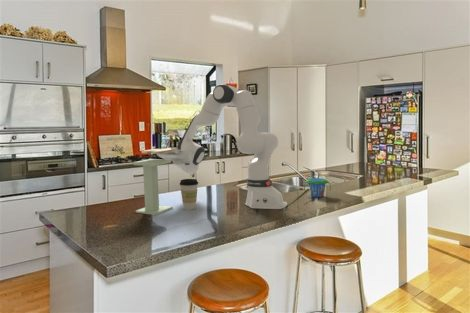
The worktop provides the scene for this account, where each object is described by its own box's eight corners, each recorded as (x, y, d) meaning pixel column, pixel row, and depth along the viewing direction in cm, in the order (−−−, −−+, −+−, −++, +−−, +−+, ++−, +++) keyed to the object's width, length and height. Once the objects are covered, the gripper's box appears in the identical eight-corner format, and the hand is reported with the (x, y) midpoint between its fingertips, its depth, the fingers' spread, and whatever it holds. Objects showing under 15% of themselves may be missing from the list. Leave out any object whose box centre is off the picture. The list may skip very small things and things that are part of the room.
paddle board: (183, 149, 207) (183, 147, 206) (160, 153, 188) (160, 151, 187) (165, 149, 212) (165, 147, 211) (141, 153, 193) (141, 150, 192)
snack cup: (302, 197, 219) (302, 180, 218) (305, 193, 229) (305, 177, 228) (329, 199, 214) (330, 181, 212) (331, 195, 223) (331, 178, 222)
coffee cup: (195, 210, 193) (195, 182, 191) (177, 210, 195) (176, 181, 193) (201, 206, 202) (200, 178, 201) (183, 205, 204) (183, 178, 202)
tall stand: (172, 208, 198) (171, 159, 195) (156, 215, 186) (154, 163, 183) (152, 206, 204) (150, 158, 201) (135, 212, 191) (133, 162, 188)
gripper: (166, 153, 220) (153, 143, 209) (196, 154, 212) (184, 143, 200) (163, 163, 218) (150, 153, 207) (194, 164, 210) (181, 154, 198)
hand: (167, 148), depth 203 cm, fingers closed on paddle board, 4 cm apart
